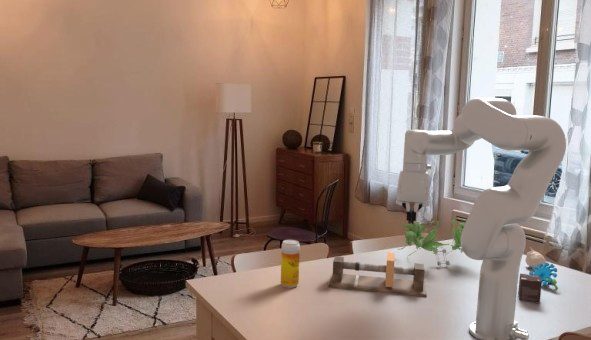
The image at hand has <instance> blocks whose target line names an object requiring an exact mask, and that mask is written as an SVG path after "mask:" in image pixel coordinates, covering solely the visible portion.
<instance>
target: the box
mask: <svg viewBox="0 0 591 340" xmlns="http://www.w3.org/2000/svg"><path fill="white" fill-rule="evenodd" d="M542 283H543V282H542V281H541V279H540V276H536V275H530V274H529V273H528V274H526V273H519V278H518V288H517V295H518V300H519V301H521V302H529V303H537V304H540V303H541V296H542V295H541V292H542V286H543V284H542Z"/></svg>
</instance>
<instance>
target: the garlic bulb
mask: <svg viewBox="0 0 591 340" xmlns="http://www.w3.org/2000/svg"><path fill="white" fill-rule="evenodd" d="M529 249H530V250H529V251H527V253H526V257H525V263H526V265H527V266H528V267H529V268H533V267H535V266H536V268H537V270H538V268H539V266H538V264H540V263H542V264H543V266H544V264H545V262H547V261H546V258H545V257H544V255H543V254H541V253H540V252H538V251H536V250H534V248H533V247H532V246H529ZM543 266H542V267H543ZM542 267H541V268H542Z"/></svg>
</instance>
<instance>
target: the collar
mask: <svg viewBox="0 0 591 340" xmlns="http://www.w3.org/2000/svg"><path fill="white" fill-rule="evenodd" d="M395 258H396V257H395V252H387V253H386V273H385V278H386V283H385V287H393V279H395V277H394V275H395V274H394V266H395Z"/></svg>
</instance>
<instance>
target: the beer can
mask: <svg viewBox="0 0 591 340" xmlns="http://www.w3.org/2000/svg"><path fill="white" fill-rule="evenodd" d="M280 251H281V253H280V255H281V260H280V261H281V262H280V284H281V286H282V287H284V288H286V289H292V288H296V287H297V286H299V284H300V259H301V258H300V254H301V244H300V241H299V240H296V239H285V240H283V241H282V244H281V250H280Z"/></svg>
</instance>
